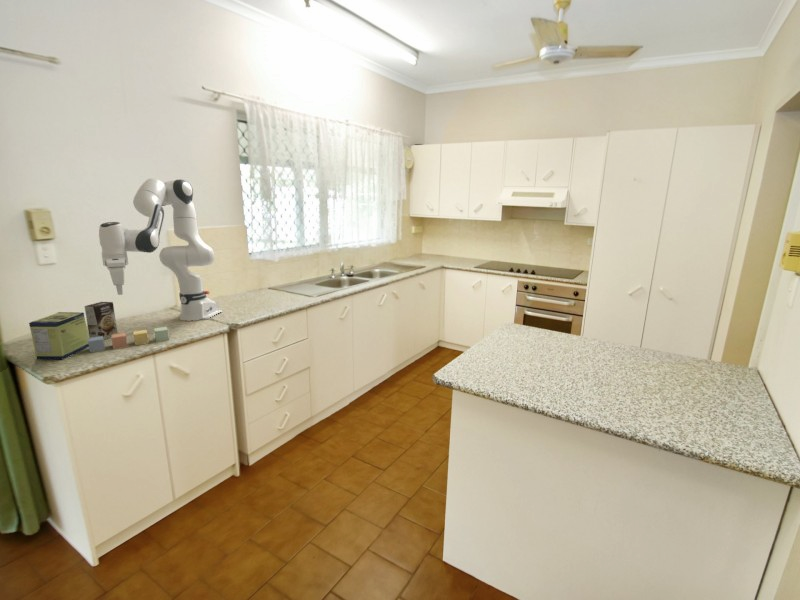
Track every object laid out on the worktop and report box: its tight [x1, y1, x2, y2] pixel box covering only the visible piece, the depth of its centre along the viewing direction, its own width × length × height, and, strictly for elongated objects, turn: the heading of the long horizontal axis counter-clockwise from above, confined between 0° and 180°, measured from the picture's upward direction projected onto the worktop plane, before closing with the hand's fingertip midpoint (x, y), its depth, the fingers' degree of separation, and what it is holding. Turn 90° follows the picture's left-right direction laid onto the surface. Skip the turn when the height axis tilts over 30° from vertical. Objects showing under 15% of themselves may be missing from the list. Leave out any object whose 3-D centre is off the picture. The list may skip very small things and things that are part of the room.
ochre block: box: [132, 329, 149, 346], centre depth 180 cm, size 5×5×5 cm
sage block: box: [153, 326, 170, 342], centre depth 185 cm, size 5×5×5 cm
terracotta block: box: [111, 332, 128, 349], centre depth 176 cm, size 5×5×5 cm
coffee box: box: [84, 301, 119, 341], centre depth 184 cm, size 9×6×16 cm
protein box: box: [28, 311, 89, 360], centre depth 166 cm, size 10×16×16 cm
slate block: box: [88, 336, 106, 353], centre depth 171 cm, size 5×5×5 cm
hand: (120, 292), depth 174 cm, fingers open, 8 cm apart
